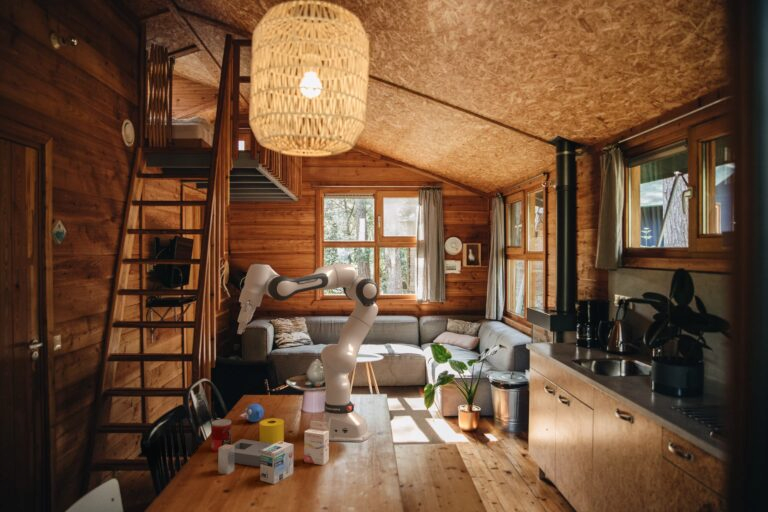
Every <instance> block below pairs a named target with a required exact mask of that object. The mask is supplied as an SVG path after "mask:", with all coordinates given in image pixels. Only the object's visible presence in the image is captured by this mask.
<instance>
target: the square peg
mask: <svg viewBox="0 0 768 512" xmlns="http://www.w3.org/2000/svg"><path fill="white" fill-rule="evenodd" d="M217 453H218V457H217V458H218V459H217V460H218V461H217V462H218V465H217V466H218V469H217V471H218V474H223V475H229V474H231V473H233V472H234V471H235V463H234V455H235V446H234V445H232V444H231V445H227V444H225V445H223V446H221V447H220V448H219V449H218V452H217Z"/></svg>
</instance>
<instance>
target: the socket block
mask: <svg viewBox="0 0 768 512" xmlns="http://www.w3.org/2000/svg"><path fill="white" fill-rule="evenodd" d="M273 444H274V443H267V442H260V440H259V441H258V440H251V439H244V438H241V439H239V440H238V441H235V442H234V443H231V445H234V446H235V455H234V464H239V465H246V466H252V467H259V468H260V465H261V450H262V449H264V448H266V447H268V446H271V445H273Z"/></svg>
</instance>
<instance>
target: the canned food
mask: <svg viewBox="0 0 768 512" xmlns="http://www.w3.org/2000/svg"><path fill="white" fill-rule="evenodd" d="M210 426H211V429H210V434H211V435H210V436H211V438H210V439H211V440H210V444H211V445H210V446H211V447H210V448H211V450H212V451H213V452H215V453H216V452H217V453H218V449H219V448H220V447H221V446H223V445H225V444H227V445H232V420H231V419H226V418H221V419H220V418H219V419H216V420H212V421H211V425H210Z"/></svg>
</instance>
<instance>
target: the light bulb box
mask: <svg viewBox="0 0 768 512" xmlns="http://www.w3.org/2000/svg"><path fill="white" fill-rule="evenodd" d="M294 450H295V449H294V444H293V443H289V442H286V441H284V442H282V441H279V442H277V443H275V444H273V445H271V446H268V447H266V448H264V449H262V450H261V465H260V467H259V468H260V470H259V471H260V474H259V476H260V478H259V479H260V481H261V482H265V483H267V484H268V483H269V484H271V485H275V484H277V483H279V482H281V481H283V480H284V479H287V478H288V477H290V476H292V475H293V474H294Z"/></svg>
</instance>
